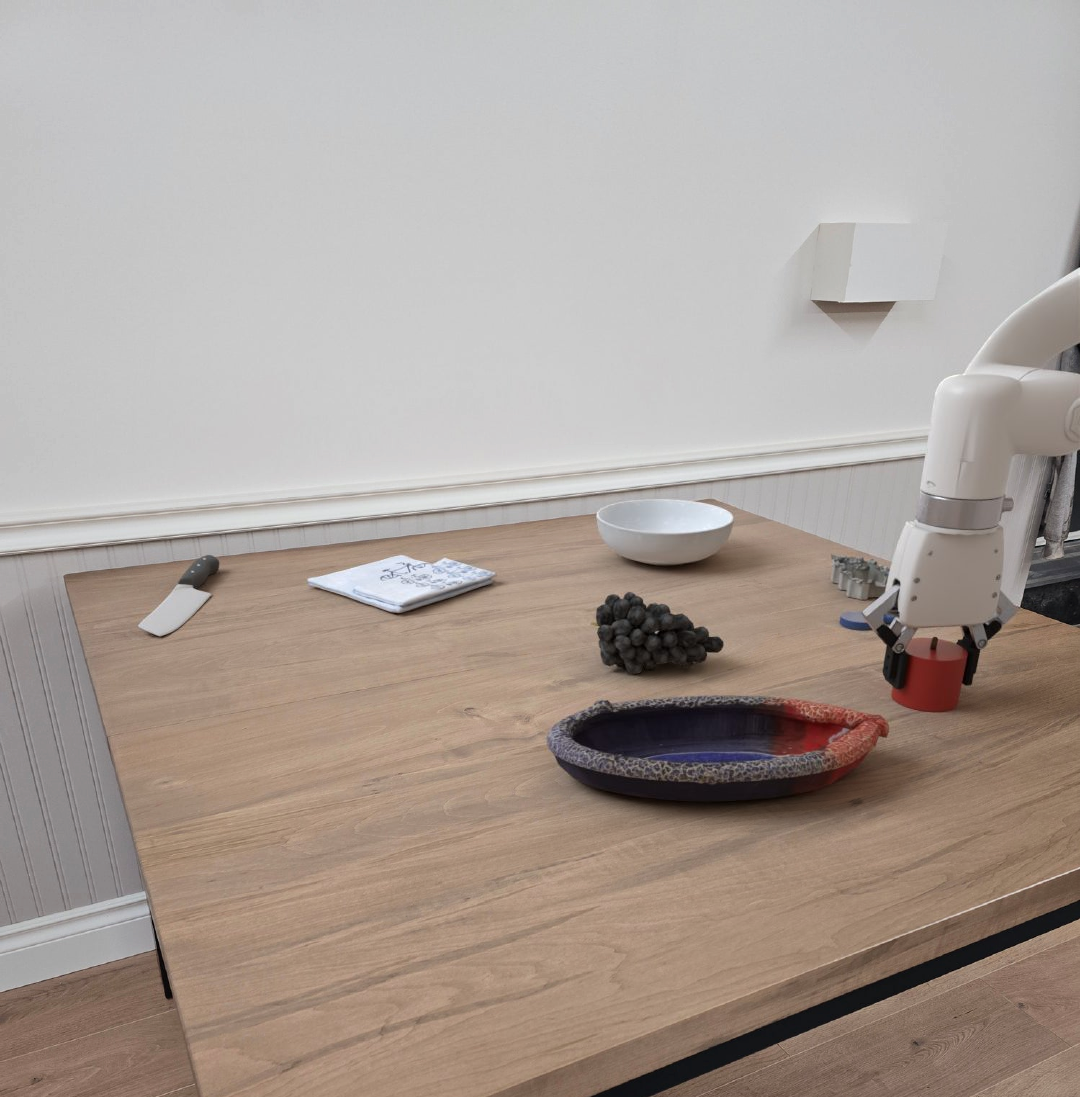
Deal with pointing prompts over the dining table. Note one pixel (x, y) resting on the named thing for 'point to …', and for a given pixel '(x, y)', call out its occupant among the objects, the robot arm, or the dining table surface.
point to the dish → (713, 746)
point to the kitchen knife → (181, 599)
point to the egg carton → (859, 576)
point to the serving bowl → (664, 530)
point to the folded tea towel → (404, 582)
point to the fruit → (649, 635)
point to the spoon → (859, 620)
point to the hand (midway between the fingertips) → (927, 681)
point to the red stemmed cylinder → (932, 675)
